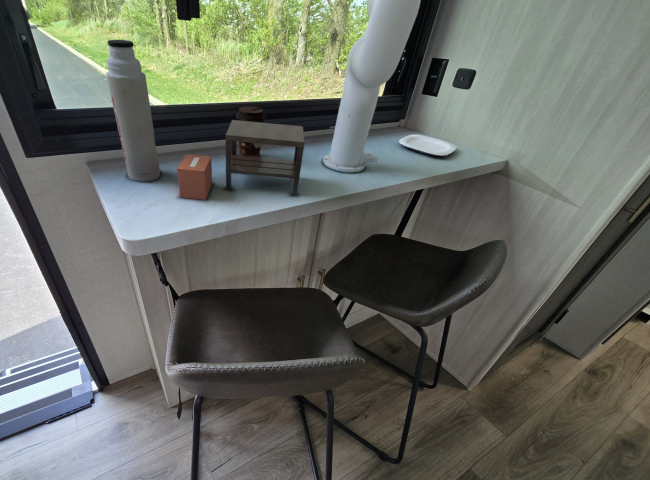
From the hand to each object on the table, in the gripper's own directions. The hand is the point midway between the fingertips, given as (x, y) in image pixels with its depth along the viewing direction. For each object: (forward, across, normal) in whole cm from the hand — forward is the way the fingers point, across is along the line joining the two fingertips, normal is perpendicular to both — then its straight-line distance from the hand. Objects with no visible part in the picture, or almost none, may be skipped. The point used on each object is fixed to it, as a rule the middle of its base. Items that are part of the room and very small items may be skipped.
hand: (189, 19), depth 78 cm
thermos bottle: (+31, -20, +10) cm, 39 cm away
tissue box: (+31, -26, -5) cm, 41 cm away
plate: (+31, +23, -78) cm, 87 cm away
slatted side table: (+31, -18, -21) cm, 42 cm away
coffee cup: (+31, 0, -16) cm, 35 cm away
